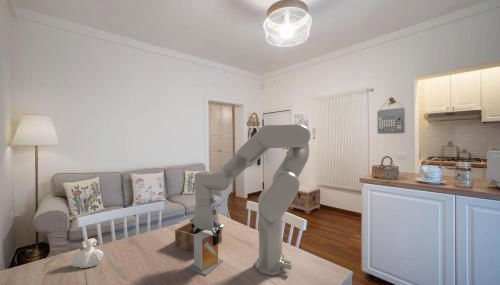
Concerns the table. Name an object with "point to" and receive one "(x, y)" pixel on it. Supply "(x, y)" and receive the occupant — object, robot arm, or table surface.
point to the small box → (205, 250)
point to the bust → (87, 255)
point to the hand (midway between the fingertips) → (206, 241)
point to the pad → (206, 271)
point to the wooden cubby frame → (188, 237)
